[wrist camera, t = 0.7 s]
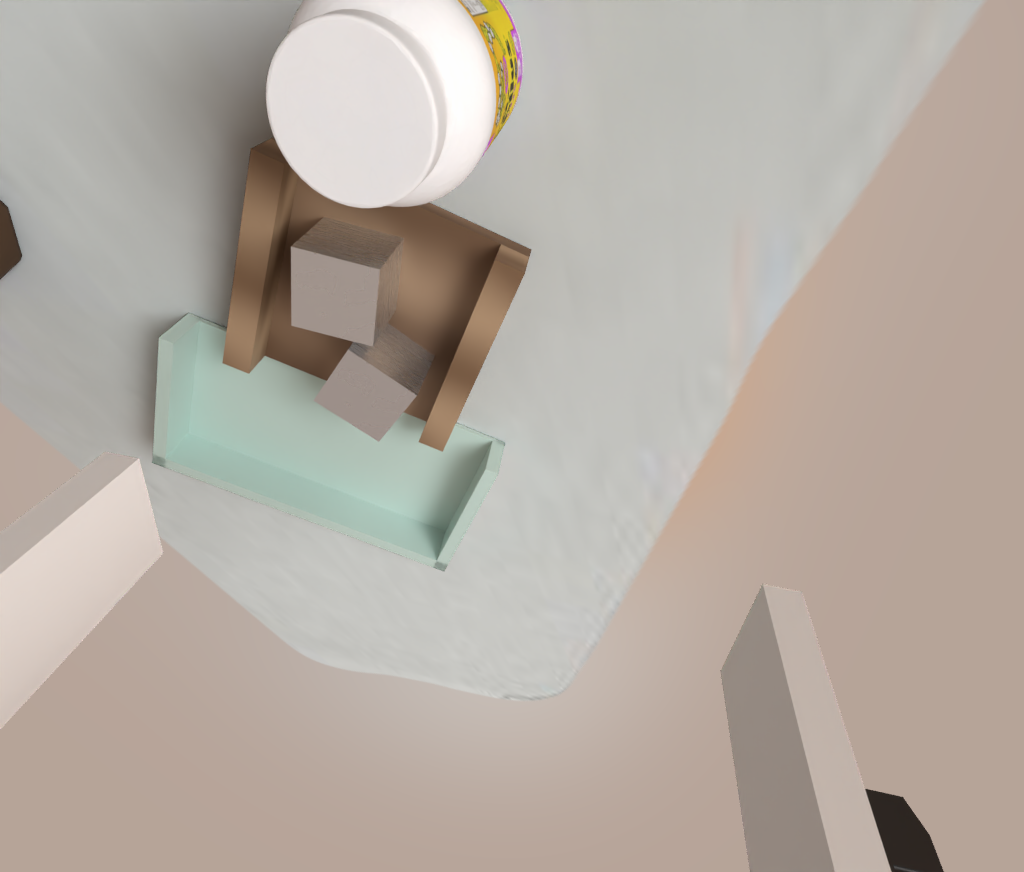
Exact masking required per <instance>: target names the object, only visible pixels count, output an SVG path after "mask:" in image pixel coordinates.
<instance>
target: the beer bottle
mask: <svg viewBox="0 0 1024 872" xmlns="http://www.w3.org/2000/svg"><path fill="white" fill-rule="evenodd" d="M21 257H22V254H21V250H20V247H19V244H18V240H17V237H16V233H15V230H14V227H13V223H12V220H11V216H10V213H9V209H8V207H7V206H6V205H5V204H4V203H3V202H2V201H1V200H0V279H1V278H2V277H3V276H4V275H5V274H6V273H7V272H8V271H9V270H10V269H11V268H13V267H14V266H15V265H16V264H17V263H18V262H19V261H20V259H21Z"/></svg>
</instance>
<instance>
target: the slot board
mask: <svg viewBox="0 0 1024 872" xmlns="http://www.w3.org/2000/svg"><path fill="white" fill-rule="evenodd" d="M324 217H326V218H330V219H334V220H338V221H341V222H345V223H349V224H353V225H357V226H360V227H364V228H368V229H372V230H376V231H379V232H383V233H387V234H391V235H395V236H398V237H402V238H404V241H403V250H402V259H401V268H400V277H399V286H398V295H397V304H396V311H395V312H394V314H393V315H392V317H391V319H390V320H389V322H388V324H390V325H391V326H393V327H394V328H396V329H397V330H399V331H400V332H401V333H403V334H404V335H406V336H407V337H409V338H410V339H411V340H413V341H414V342H416V343H417V344H419V345H420V346H422V347H423V348H424V349H426V350H427V351H429V352H430V353H432V354H433V355H434V356H435V357H434V359H433V361H432V363H431V366H430V368H429V370H428V372H427V375H426V377H425V379H424V381H423V383H422V386H421V388H420V390H419V392H418V395H417V396H416V397H415V399H414V400H413V401H412V402H411V404H410V405H409V406H408V407H407V408H406V410H405V411H404V413H406V414H409V415H411V416H414V417H416V418H419V419H421V420H424V421H426V425H425V427H424V430H423V432H422V434H421V437H420V439H419V442H420V443H422V444H425V445H427V446H430V447H432V448H435V449H437V450H439V451H442V452H443V450H444V448H445V446H446V444H447V441H448V439H449V437H450V435H451V433H452V430H453V428H454V426H455V424H456V422H457V420H458V417H459V415H460V413H461V411H462V409H463V407H464V404H465V402H466V400H467V398H468V396H469V394H470V391H471V389H472V387H473V385H474V383H475V380H476V378H477V376H478V374H479V372H480V370H481V367H482V365H483V363H484V361H485V359H486V357H487V354H488V352H489V350H490V348H491V346H492V343H493V341H494V339H495V337H496V335H497V333H498V330H499V328H500V326H501V324H502V322H503V320H504V317H505V315H506V313H507V311H508V309H509V307H510V304H511V302H512V300H513V298H514V296H515V293H516V291H517V289H518V287H519V285H520V283H521V280H522V278H523V276H524V274H525V271H526V267H527V263H528V260H529V256H530V253H531V249H529V248H526V247H524V246H522V245H520V244H518V243H516V242H513V241H511V240H509V239H507V238H505V237H503V236H500V235H498V234H496V233H494V232H492V231H490V230H487V229H485V228H483V227H481V226H479V225H477V224H474V223H472V222H470V221H468V220H466V219H464V218H462V217H459V216H457V215H455V214H453V213H451V212H449V211H446V210H444V209H442V208H440V207H438V206H436V205H433V204H431V203H426V204H422V205H417V206H410V207H393V206H383V207H378V208H357V207H351V206H346V205H343V204H340V203H337V202H335V201H333V200H330V199H328V198H326V197H324V196H323V195H321V194H319V193H318V192H317V191H315V190H314V189H312V188H311V187H310V186H309V185H308V184H307V183H306V182H304V181H303V180H302V179H301V178H300V177H299V176H298V175H297V173H296V172H295V171H294V170H293V169H292V168H291V166H290V165H289V164H288V162H287V161H286V159H285V157H284V156H283V154H282V152H281V151H280V149H279V147H278V145H277V143H276V140H275V138H274V137H273V138H271V139H269V140H267V141H265V142H263V143H261V144H259V145H257V146H255V147H253V148H251V152H250V159H249V167H248V174H247V182H246V189H245V197H244V204H243V212H242V219H241V227H240V234H239V242H238V249H237V257H236V264H235V272H234V279H233V287H232V294H231V302H230V309H229V317H228V325H227V332H226V340H225V347H224V355H223V362H222V363H223V364H226V365H228V366H231V367H233V368H236V369H238V370H241V371H243V372H246V373H248V374H249V373H250V372H251V371H252V370H253V369H254V368H255V367H256V365H257V364H258V363H259V362H260V361H261V360H262V359H263V357H264V356H267V357H269V358H272V359H274V360H277V361H279V362H281V363H284V364H286V365H289V366H291V367H294V368H296V369H299V370H301V371H303V372H306V373H308V374H311V375H313V376H316V377H318V378H321V379H323V380H326V381H327V380H328V378H329V377H330V375H331V374H332V372H333V371H334V370H335V368H336V367H337V365H338V364H339V362H340V361H341V359H342V358H343V356H344V355H345V353H346V352H347V350H348V349H349V347H350V346H351V345H352V343H353V341H349V340H345V339H341V338H337V337H333V336H330V335H326V334H322V333H318V332H314V331H310V330H306V329H302V328H298V327H295V326H291V246H292V245H293V244H294V243H295V242H296V241H298V240H299V239H300V238H301V237H302V236H303V235H304V234H306V233H307V232H308V231H309V230H310V229H311V228H312V227H313V226H315V225H316V224H317V223H318V222H319V221H320V220H321V219H323V218H324Z"/></svg>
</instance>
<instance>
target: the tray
mask: <svg viewBox="0 0 1024 872" xmlns="http://www.w3.org/2000/svg"><path fill="white" fill-rule="evenodd" d="M226 332H227V328H224V327H222V326H219V325H217V324H214V323H212V322H210V321H207V320H205V319H202V318H200V317H197V316H195V315H193V314H190V313H188V314H187V315H186V316H184V317H183V318H182V319H181V320H180V321H178V322H177V323H176V324H175V325H174V326H172V327H171V328H170V329H169V330H168V331H166V332H165V333H164V334H163V335H161V336H160V337H159V345H158V364H157V384H156V403H155V422H154V442H153V461H152V463H154V464H157V465H160V466H162V467H165V468H168V469H170V470H173V471H176V472H178V473H181V474H184V475H186V476H189V477H192V478H195V479H197V480H200V481H203V482H205V483H208V484H211V485H213V486H216V487H219V488H221V489H224V490H227V491H229V492H232V493H235V494H237V495H240V496H243V497H245V498H248V499H251V500H254V501H256V502H259V503H262V504H264V505H267V506H270V507H272V508H275V509H278V510H280V511H283V512H286V513H288V514H291V515H294V516H296V517H299V518H302V519H305V520H307V521H310V522H313V523H315V524H318V525H321V526H323V527H326V528H329V529H331V530H334V531H337V532H339V533H342V534H345V535H347V536H350V537H353V538H355V539H358V540H361V541H364V542H366V543H369V544H372V545H374V546H377V547H380V548H382V549H385V550H388V551H390V552H393V553H396V554H398V555H401V556H404V557H406V558H409V559H412V560H414V561H417V562H420V563H423V564H425V565H428V566H431V567H433V568H436V569H439V570H441V571H445V569H446V567H447V565H448V564H449V562H450V560H451V558H452V556H453V555H454V553H455V551H456V549H457V547H458V546H459V544H460V542H461V540H462V538H463V537H464V535H465V533H466V531H467V529H468V528H469V526H470V524H471V522H472V520H473V519H474V517H475V515H476V513H477V511H478V510H479V508H480V506H481V504H482V502H483V501H484V499H485V497H486V495H487V493H488V492H489V490H490V488H491V486H492V484H493V483H494V481H495V479H496V477H497V475H498V473H499V468H500V464H501V459H502V455H503V450H504V446H505V443H504V442H502V441H499V440H497V439H494V438H492V437H490V436H487V435H485V434H482V433H480V432H477V431H475V430H473V429H470V428H468V427H465V426H463V425H460V424H458V423H456V424H455V426H454V428H453V430H452V433H451V435H450V437H449V439H448V441H447V444H446V446H445V448H444V450H443V452H442V451H439V450H437V449H435V448H432V447H430V446H427V445H425V444H422V443H420V442H419V439H420V437H421V434H422V432H423V430H424V427H425V425H426V421H424V420H421V419H419V418H416V417H414V416H411V415H409V414H406V413H404V412H403V413H402V414H401V416H400V417H399V418H398V419H397V421H396V422H395V423H394V424H393V425H392V427H391V428H390V429H389V430H388V432H387V433H386V434H385V435H384V436H383V438H382V439H381V440H380V441H379V442H378V441H377V440H375V439H374V438H372V437H370V436H369V435H367V434H366V433H364V432H362V431H361V430H359V429H358V428H356V427H354V426H353V425H351V424H350V423H348V422H347V421H345V420H343V419H342V418H340V417H339V416H337V415H335V414H334V413H332V412H331V411H329V410H327V409H326V408H324V407H323V406H321V405H319V404H318V403H316V402H315V401H313V400H314V399H315V397H316V396H317V395H318V393H319V392H320V390H321V389H322V387H323V386H324V384H325V383H326V380H323V379H321V378H318V377H316V376H313V375H311V374H308V373H306V372H303V371H301V370H299V369H296V368H294V367H291V366H289V365H286V364H284V363H281V362H279V361H277V360H274V359H272V358H269V357H267V356H264V357H263V359H262V360H261V361H260V362H259V363H258V364H257V365H256V367H255V368H254V369H253V370H252V371H251V372H250V373H249V374H248V373H246V372H243V371H241V370H238V369H236V368H233V367H231V366H228V365H226V364H223V363H222V362H223V355H224V347H225V340H226Z"/></svg>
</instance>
